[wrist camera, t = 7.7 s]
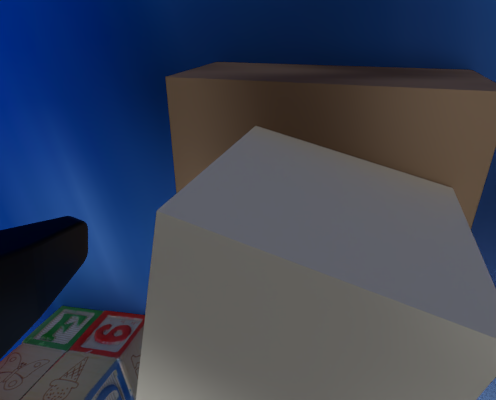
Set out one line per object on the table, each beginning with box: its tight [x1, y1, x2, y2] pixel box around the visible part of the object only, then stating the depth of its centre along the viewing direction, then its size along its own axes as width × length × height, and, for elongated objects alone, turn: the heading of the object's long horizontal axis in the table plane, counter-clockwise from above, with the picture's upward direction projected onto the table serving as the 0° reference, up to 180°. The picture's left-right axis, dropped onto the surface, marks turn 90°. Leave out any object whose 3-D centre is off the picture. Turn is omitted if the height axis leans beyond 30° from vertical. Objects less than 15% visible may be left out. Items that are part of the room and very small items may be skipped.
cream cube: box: [136, 126, 496, 400], centre depth 8 cm, size 5×5×5 cm
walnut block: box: [165, 62, 496, 229], centre depth 12 cm, size 8×8×4 cm
